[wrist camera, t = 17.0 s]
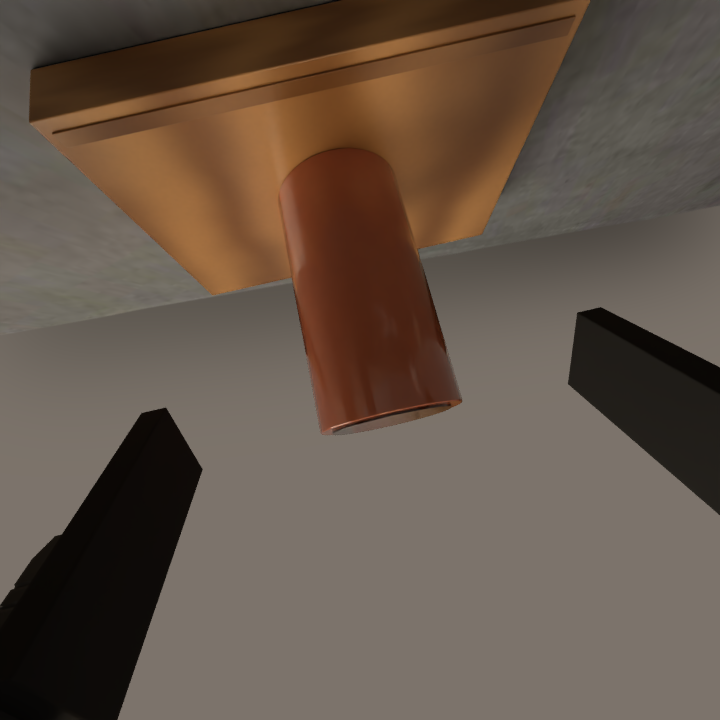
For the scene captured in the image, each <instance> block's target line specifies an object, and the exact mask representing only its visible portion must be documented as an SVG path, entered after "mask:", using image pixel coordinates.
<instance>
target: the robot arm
mask: <svg viewBox="0 0 720 720" xmlns="http://www.w3.org/2000/svg"><path fill="white" fill-rule="evenodd" d="M568 384H569V385H570V386H571V387H572V388H573V389H574V390H576V391H577V392H578V393H579V394H580V395H581V396H583V397H584V398H585V399H586V400H587V401H588V402H589V403H591V404H592V405H593V406H594V407H595V408H596V409H598V410H599V411H600V412H601V413H602V414H603V415H604V416H606V417H607V418H608V419H609V420H610V421H611V422H613V423H614V424H615V425H616V426H617V427H618V428H620V429H621V430H622V431H623V432H624V433H626V434H627V435H628V436H629V437H630V438H631V439H632V440H633V441H635V442H636V443H637V444H638V445H639V446H640V447H642V448H643V449H644V450H645V451H646V452H647V453H648V454H650V455H651V456H652V457H653V458H654V459H655V460H657V461H658V462H659V463H660V464H661V465H663V466H664V467H665V468H666V469H667V470H668V471H669V472H671V473H672V474H673V475H674V476H675V477H676V478H677V479H679V480H680V481H681V482H682V483H683V484H684V485H685V486H687V487H688V488H689V489H690V490H691V491H692V492H694V493H695V494H696V495H697V496H698V497H699V498H701V499H702V500H703V501H704V502H705V503H706V504H707V505H709V506H710V507H711V508H712V509H713V510H715V511H716V512H717V513H718V514H719V515H720V367H718V366H716V365H714V364H712V363H710V362H708V361H706V360H704V359H702V358H700V357H698V356H696V355H694V354H692V353H690V352H688V351H686V350H684V349H682V348H681V347H679V346H676V345H675V344H673V343H671V342H669V341H667V340H665V339H663V338H661V337H659V336H657V335H654V334H653V333H651V332H649V331H647V330H645V329H643V328H641V327H639V326H637V325H635V324H633V323H631V322H629V321H627V320H625V319H623V318H621V317H619V316H617V315H615V314H613V313H611V312H609V311H607V310H605V309H603V308H601V307H600V308H596V309H591V310H587V311H583V312H578V313H577V319H576V327H575V335H574V343H573V350H572V357H571V365H570V374H569V380H568ZM201 472H202V468H201V466H200V464H199V463H198V461H197V459H196V457H195V456H194V454H193V453H192V451H191V449H190V448H189V446H188V444H187V442H186V441H185V439H184V437H183V436H182V434H181V432H180V430H179V429H178V427H177V425H176V424H175V422H174V420H173V419H172V417H171V415H170V413H169V412H168V410H167V409H166V408H162V409H158V410H153V411H149V412H145V413H142V414H141V415H140V416H139V418H138V419H137V421H136V422H135V424H134V425H133V427H132V429H131V430H130V432H129V433H128V435H127V436H126V438H125V439H124V441H123V442H122V444H121V445H120V447H119V448H118V450H117V451H116V453H115V454H114V456H113V458H112V459H111V461H110V462H109V464H108V465H107V467H106V468H105V470H104V471H103V473H102V474H101V476H100V477H99V479H98V480H97V482H96V483H95V485H94V486H93V488H92V489H91V491H90V493H89V494H88V496H87V497H86V499H85V500H84V502H83V503H82V505H81V506H80V508H79V509H78V511H77V513H76V514H75V515H74V517H73V518H72V520H71V521H70V523H69V524H68V526H67V528H66V529H65V531H64V532H63V534H62V535H58V536H55V537H54V538H53V539H52V540H51V541H50V542H49V543H48V544H47V545H46V546H45V547H44V548H43V549H42V550H41V551H40V552H39V553H38V554H37V555H36V556H35V557H34V558H33V559H32V560H31V562H30V563H29V564H28V566H27V567H26V569H25V570H24V572H23V573H22V575H21V576H20V577H19V579H18V580H17V582H16V583H15V588H14V589H12V590H10V592H9V593H8V595H7V596H6V598H5V599H4V601H3V602H2V604H1V605H0V720H117V719H118V716H119V713H120V710H121V707H122V704H123V702H124V698H125V695H126V692H127V690H128V687H129V683H130V681H131V678H132V675H133V672H134V669H135V666H136V663H137V660H138V657H139V654H140V652H141V649H142V646H143V643H144V640H145V637H146V634H147V631H148V628H149V625H150V622H151V619H152V616H153V613H154V610H155V608H156V604H157V602H158V599H159V596H160V593H161V590H162V587H163V584H164V581H165V578H166V575H167V572H168V569H169V566H170V563H171V560H172V558H173V555H174V551H175V549H176V546H177V543H178V540H179V537H180V534H181V531H182V528H183V525H184V522H185V519H186V517H187V514H188V511H189V508H190V504H191V502H192V499H193V496H194V493H195V490H196V487H197V484H198V481H199V478H200V475H201Z"/></svg>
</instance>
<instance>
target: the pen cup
mask: <svg viewBox="0 0 720 720" xmlns="http://www.w3.org/2000/svg"><path fill="white" fill-rule="evenodd" d="M278 207H279V213H280V218H281V223H282V229H283V234H284V239H285V245H286V250H287V255H288V261H289V266H290V271H291V277H292V282H293V288H294V293H295V298H296V304H297V309H298V314H299V320H300V325H301V330H302V335H303V341H304V346H305V352H306V357H307V362H308V368H309V373H310V378H311V383H312V388H313V395H314V400H315V405H316V411H317V416H318V421H319V427H320V432H321V434H322V435H345V434H352V433H358V432H364V431H369V430H374V429H378V428H383V427H387V426H392V425H397V424H401V423H405V422H409V421H413V420H416V419H420V418H424V417H427V416H431V415H434V414H437V413H440V412H443V411H446V410H448V409H450V408H451V407H454V406H456V405H458V404H460V403H461V402H462V397H461V394H460V391H459V387H458V384H457V381H456V377H455V374H454V371H453V367H452V364H451V361H450V357H449V354H448V351H447V347H446V344H445V340H444V337H443V333H442V331H441V327H440V324H439V320H438V317H437V313H436V310H435V306H434V303H433V300H432V297H431V293H430V290H429V286H428V283H427V279H426V276H425V273H424V269H423V266H422V263H421V259H420V256H419V252H418V249H417V246H416V242H415V239H414V236H413V232H412V229H411V225H410V222H409V219H408V215H407V212H406V209H405V205H404V202H403V198H402V195H401V192H400V188H399V185H398V182H397V178H396V175H395V173H394V170H393V169H392V167H391V166H390V164H389V163H388V162H387V161H386V160H385V159H383V158H382V157H380V156H379V155H377V154H375V153H373V152H370V151H367V150H363V149H357V148H339V149H333V150H329V151H325V152H322V153H319V154H317V155H314V156H312V157H310V158H308V159H306V160H305V161H303V162H302V163H300V164H299V165H298V166H296V167H295V168H294V169H293V170H292V171H291V172H290V173H289V175H288V176H287V177H286V179H285V180H284V182H283V183H282V186H281V188H280V191H279V195H278Z"/></svg>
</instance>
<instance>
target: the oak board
mask: <svg viewBox="0 0 720 720" xmlns="http://www.w3.org/2000/svg"><path fill="white" fill-rule="evenodd" d="M590 1H591V0H341V1H336V2H332V3H327V4H323V5H318V6H314V7H309V8H305V9H300V10H296V11H291V12H287V13H283V14H278V15H274V16H269V17H265V18H260V19H256V20H251V21H247V22H242V23H238V24H233V25H229V26H225V27H220V28H216V29H211V30H207V31H202V32H198V33H193V34H189V35H184V36H180V37H175V38H171V39H167V40H162V41H158V42H153V43H149V44H144V45H140V46H135V47H131V48H126V49H122V50H117V51H113V52H109V53H104V54H100V55H95V56H91V57H86V58H82V59H77V60H73V61H68V62H64V63H59V64H55V65H51V66H46V67H42V68H37V69H33V70H31V75H30V106H29V122H30V124H31V125H32V126H33V127H35V128H36V129H37V130H38V131H39V132H40V133H41V134H42V135H43V136H44V137H45V138H46V139H47V140H48V141H49V142H50V143H52V144H53V145H54V146H55V147H56V148H57V149H58V150H59V151H60V152H61V153H62V154H63V155H64V156H65V157H66V158H67V159H69V160H70V161H71V162H72V163H73V164H74V165H75V166H76V167H77V168H78V169H79V170H80V171H81V172H82V173H83V174H84V175H86V176H87V177H88V178H89V179H90V180H91V181H92V182H93V183H94V184H95V185H96V186H97V187H98V188H99V189H100V190H101V191H103V192H104V193H105V194H106V195H107V196H108V197H109V198H110V199H111V200H112V201H113V202H114V203H115V204H116V205H117V206H118V207H119V208H121V209H122V210H123V211H124V212H125V213H126V214H127V215H128V216H129V217H130V218H131V219H132V220H133V221H134V222H135V223H136V224H138V225H139V226H140V227H141V228H142V229H143V230H144V231H145V232H146V233H147V234H148V235H149V236H150V237H151V238H152V239H153V240H155V241H156V242H157V243H158V244H159V245H160V246H161V247H162V248H163V249H164V250H165V251H166V252H167V253H168V254H169V255H170V256H172V257H173V258H174V259H175V260H176V261H177V262H178V263H179V264H180V265H181V266H182V267H183V268H184V269H185V270H186V271H187V272H189V273H190V274H191V275H192V276H193V277H194V278H195V279H196V280H197V281H198V282H199V283H200V284H201V285H202V286H203V287H204V288H206V289H207V290H208V291H209V292H210V293H211V294H212V295H216V294H220V293H225V292H229V291H234V290H238V289H243V288H247V287H251V286H256V285H260V284H265V283H269V282H273V281H278V280H282V279H287V278H291V271H290V266H289V261H288V255H287V250H286V245H285V239H284V234H283V229H282V223H281V218H280V213H279V207H278V195H279V191H280V188H281V186H282V183H283V182H284V180H285V179H286V177H287V176H288V175H289V173H290V172H291V171H292V170H293V169H294V168H295V167H296V166H298V165H299V164H300V163H302V162H303V161H305V160H306V159H308V158H310V157H312V156H314V155H317V154H319V153H322V152H325V151H329V150H333V149H339V148H357V149H363V150H367V151H370V152H373V153H375V154H377V155H379V156H380V157H382V158H383V159H385V160H386V161H387V162H388V163H389V164H390V166H391V167H392V169H393V170H394V173H395V175H396V178H397V182H398V185H399V188H400V192H401V195H402V198H403V202H404V205H405V209H406V212H407V215H408V219H409V222H410V225H411V229H412V232H413V236H414V239H415V242H416V246H417V249H420V248H424V247H428V246H433V245H437V244H442V243H446V242H451V241H455V240H459V239H464V238H468V237H473V236H477V235H481V234H482V233H483V231H484V229H485V227H486V224H487V222H488V220H489V218H490V216H491V214H492V211H493V209H494V207H495V205H496V203H497V201H498V199H499V196H500V194H501V192H502V190H503V188H504V186H505V184H506V181H507V179H508V177H509V175H510V173H511V171H512V168H513V166H514V164H515V162H516V160H517V158H518V156H519V153H520V151H521V149H522V147H523V145H524V143H525V141H526V138H527V136H528V134H529V132H530V130H531V128H532V125H533V123H534V121H535V119H536V117H537V115H538V113H539V110H540V108H541V106H542V104H543V102H544V100H545V98H546V95H547V93H548V91H549V89H550V87H551V85H552V82H553V80H554V78H555V76H556V74H557V72H558V70H559V67H560V65H561V63H562V61H563V59H564V57H565V54H566V52H567V50H568V48H569V46H570V44H571V42H572V39H573V37H574V35H575V33H576V31H577V29H578V27H579V24H580V22H581V20H582V18H583V16H584V14H585V11H586V9H587V7H588V5H589V3H590Z"/></svg>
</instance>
